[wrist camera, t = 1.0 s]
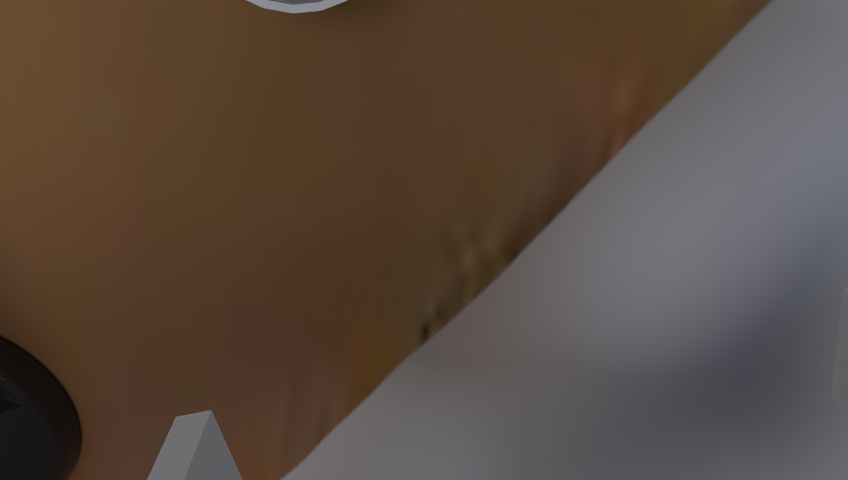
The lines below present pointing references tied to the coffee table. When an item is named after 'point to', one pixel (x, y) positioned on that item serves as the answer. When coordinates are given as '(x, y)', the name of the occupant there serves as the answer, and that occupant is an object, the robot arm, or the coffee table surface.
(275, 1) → the cup
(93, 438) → the coffee table surface
